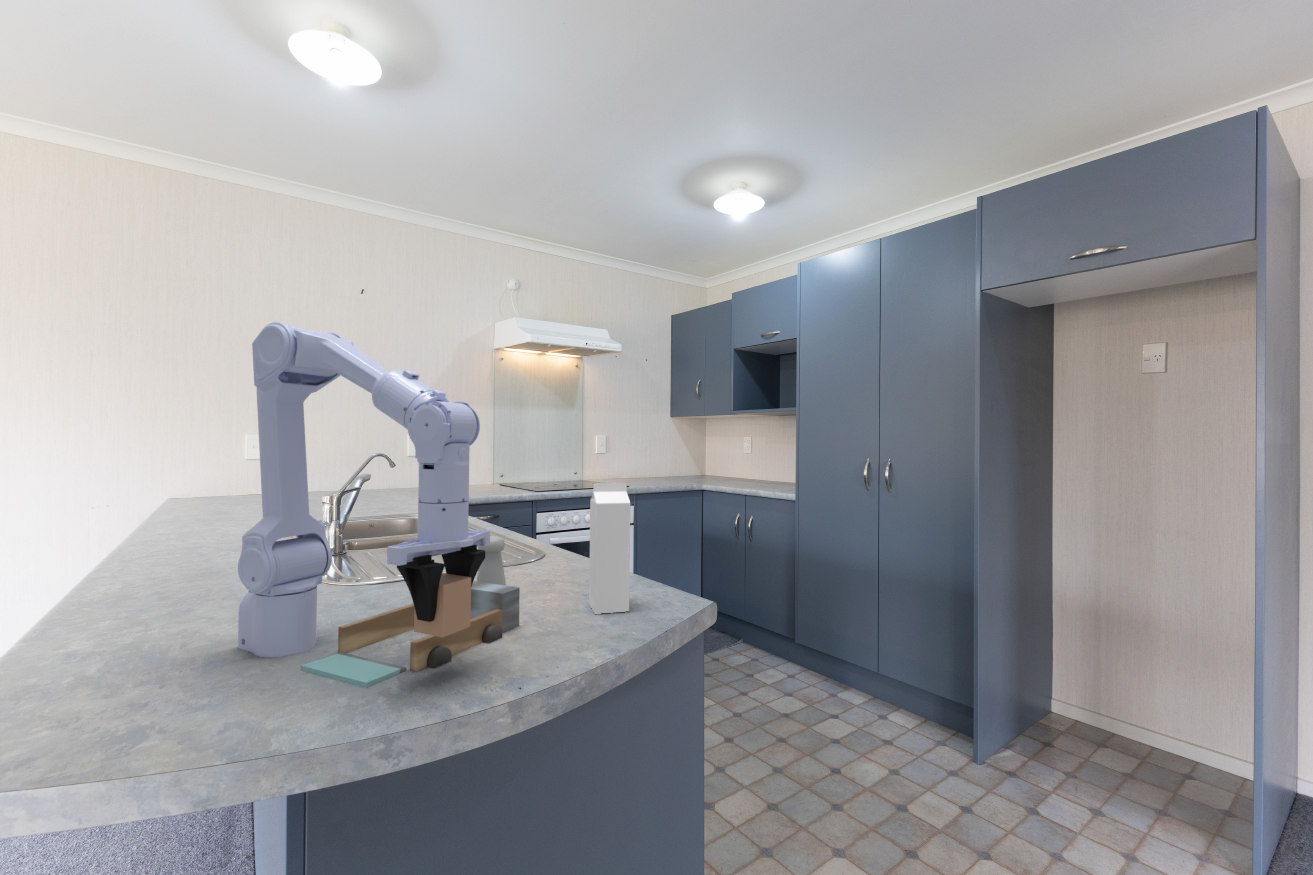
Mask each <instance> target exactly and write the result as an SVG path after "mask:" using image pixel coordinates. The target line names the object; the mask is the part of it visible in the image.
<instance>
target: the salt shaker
mask: <svg viewBox="0 0 1313 875" xmlns="http://www.w3.org/2000/svg"><path fill="white" fill-rule="evenodd" d="M477 549H479V550H485V559H484V561H483V562H482V564H481V566H480V567H479V569H478V571H477V575H476V576H477V577H476V581H477V582H484V583H491V584H498V585H505V586H507V583H506V575H505V570H504V564H503V557H502V551H504V549H505V538H504V537H501V536H498V535H497V536H496V535H490V545H488V546H477Z"/></svg>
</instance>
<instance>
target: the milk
mask: <svg viewBox="0 0 1313 875" xmlns="http://www.w3.org/2000/svg"><path fill="white" fill-rule="evenodd" d="M592 487H593V491H592V494H591V497H590V501H589V502H590V506H589V511H590V512H589V513H590V514H589V515H590V516H589V573H588V574H589V581H588V582H589V584H588V585H589V586H588V587H589V589H588V590H589V592H588V596H589V597H588V606H589V605H590V606H589V607H590V609H591V608H592V609H591V610H592V612H593V614H594V615H595V614H597V615H602V614H601V613H611V614H614V613H613V612H625V611H629V612H630V573H631V572H630V567H631V566H630V564H631V562H630V560H631V559H630V558H631V557H630V556H631V553H630V551H631V548H630V547H631V501H630V497H629V494H628V492H627V491H628V490H627V489H628V485H627V483H625V482H599V483H597V482H596V483H594V484H593V486H592ZM625 613H626V612H625Z"/></svg>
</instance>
